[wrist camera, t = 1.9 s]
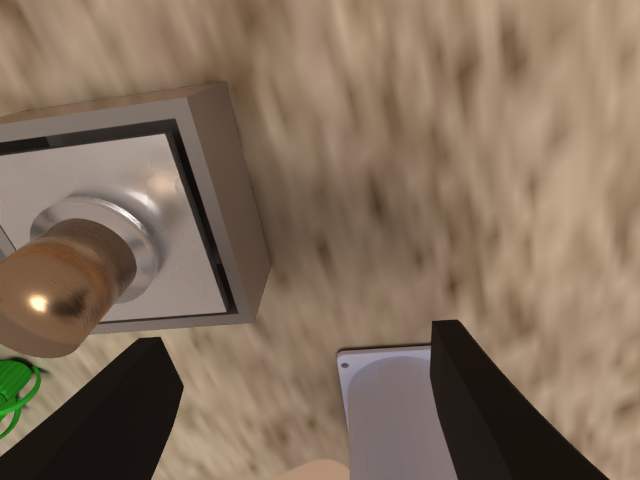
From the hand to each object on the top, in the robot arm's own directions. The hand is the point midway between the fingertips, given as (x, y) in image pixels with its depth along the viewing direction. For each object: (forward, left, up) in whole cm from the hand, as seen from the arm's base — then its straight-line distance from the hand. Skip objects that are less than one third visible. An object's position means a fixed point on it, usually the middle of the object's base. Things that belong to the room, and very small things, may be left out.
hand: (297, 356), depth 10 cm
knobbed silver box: (+1, +8, -11) cm, 14 cm away
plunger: (+1, +8, -6) cm, 10 cm away
